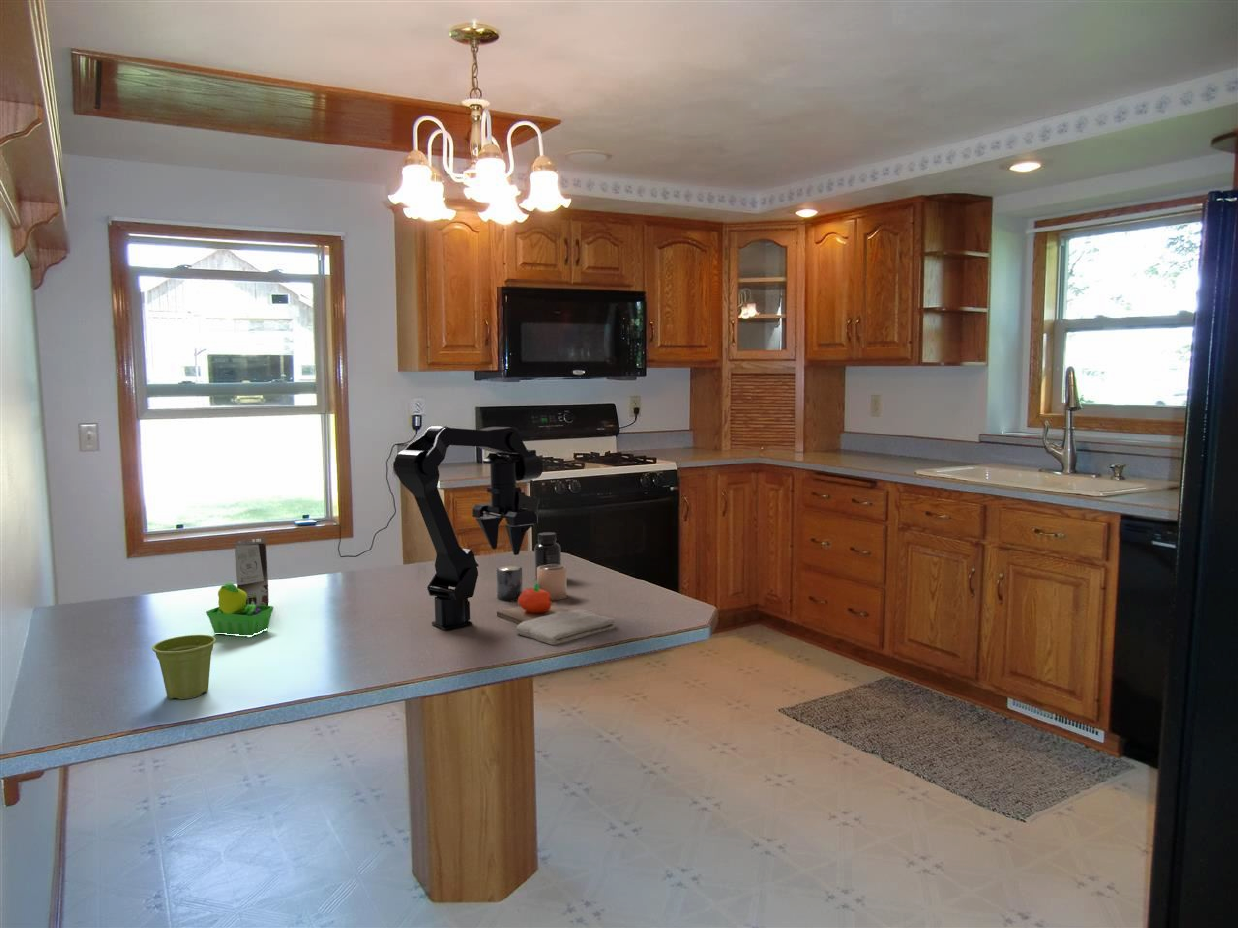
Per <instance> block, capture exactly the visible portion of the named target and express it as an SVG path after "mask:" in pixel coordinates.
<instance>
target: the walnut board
mask: <svg viewBox="0 0 1238 928" xmlns="http://www.w3.org/2000/svg"><path fill="white" fill-rule="evenodd" d="M558 611H564V612H568V611H569V610H567V609H565V608H561V607H558V606H555V605H551V607H550V609H549V610H548V611H546V612H543V613H530V612H527V611H526V610H524V609H523V608H522V607H521V606H520V605H519V606H516V607H512V608H507V609H501V610H497V611H496V617H499V618H502V619H505V620H507V621H509V622H513V623H515V624H517V625H519V624H520V623H522V622H523V621H528V620H532V619H535V618H538V617H542V616H547V615H551V614H554V613H556V612H558Z"/></svg>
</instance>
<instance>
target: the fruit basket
mask: <svg viewBox="0 0 1238 928" xmlns="http://www.w3.org/2000/svg"><path fill="white" fill-rule="evenodd" d="M217 596H218V606H217V607H215V608H211V609H208V610H206V611H205V613H206V615H207V617H208V620H209V623H210V624H211V627H212V630H213V632H214V634H215V633H227V634H239V635H253V634H254V633H258V632H260V631H262V630H264V629H266V628H268V629H269V626H270V625H269V624H270V621H271V617H272V613H273V611H274V608H275V606H272V605H269V606H262V605H254V603H252V604H251V605H248V604H246V600H247V594H246V593H245V592H244V591H243V590H240V589H238V588H237V585H235V584H234V583H233V582H227V583H225V584H224V585H221V587H220V588H219V590H218V592H217Z"/></svg>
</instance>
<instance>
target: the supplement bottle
mask: <svg viewBox="0 0 1238 928" xmlns="http://www.w3.org/2000/svg"><path fill="white" fill-rule="evenodd" d="M556 541H557V533H556V532H551V531H549V532H540V533H537V542H538V543H537V544H535V546H534V548H533V550H534V551H533V552H534V554H533V555H534V577H535V580H536V581H537V567H539V566H543V565H562V562H561V561H562V557H561V555H562V554H561V545H560V544H559V543H557V542H556Z"/></svg>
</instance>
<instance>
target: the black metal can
mask: <svg viewBox="0 0 1238 928" xmlns="http://www.w3.org/2000/svg"><path fill="white" fill-rule="evenodd" d="M523 589H524V588H523V567H522V566H518V565H505V566H499V567H497V568H496V592H497V594H496V596H497V599H498V600H500V601H508V602H510V601H511V602H512V601H518V598H519V596H520V595H521V593H522V592H523V591H524V590H523Z"/></svg>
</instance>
